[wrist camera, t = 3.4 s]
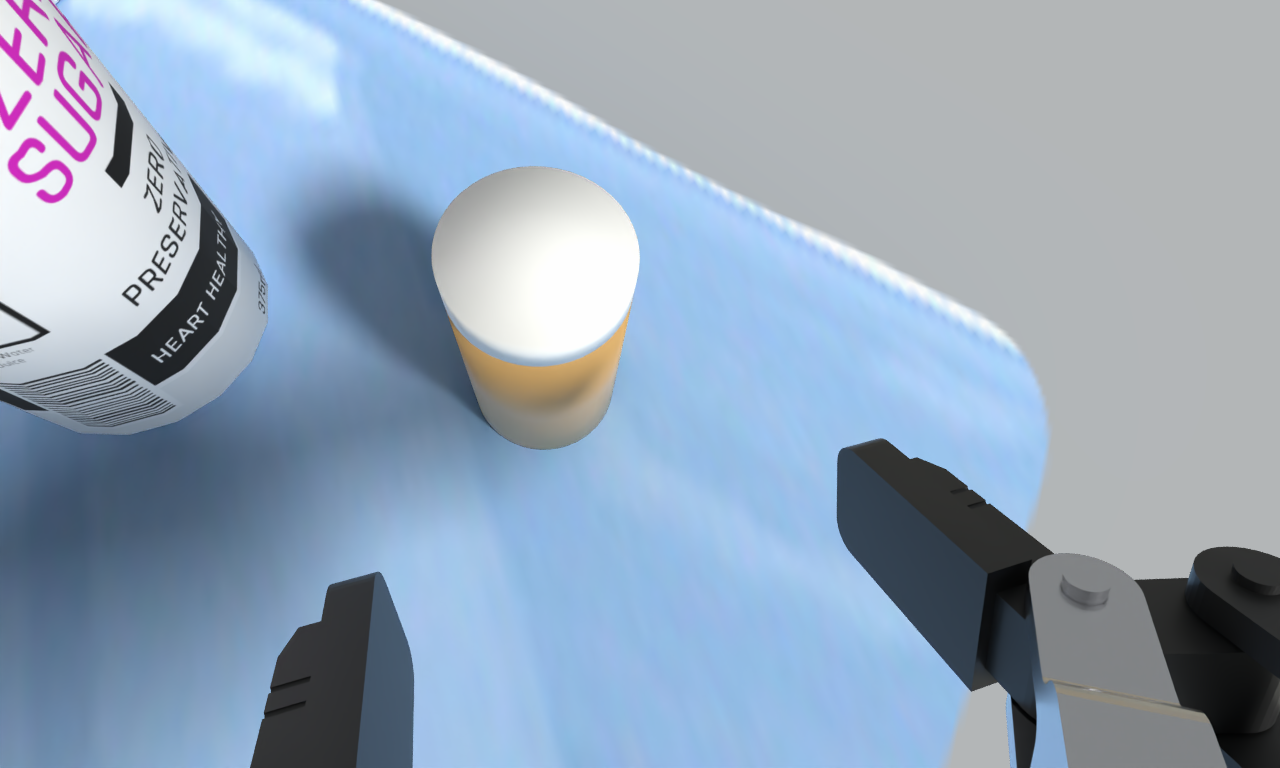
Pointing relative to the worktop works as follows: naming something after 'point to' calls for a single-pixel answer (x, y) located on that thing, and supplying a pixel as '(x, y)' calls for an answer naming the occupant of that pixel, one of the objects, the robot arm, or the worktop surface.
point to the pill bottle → (538, 299)
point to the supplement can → (107, 248)
